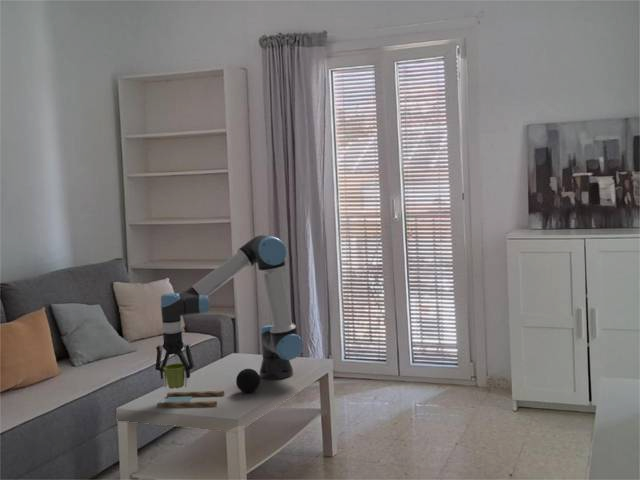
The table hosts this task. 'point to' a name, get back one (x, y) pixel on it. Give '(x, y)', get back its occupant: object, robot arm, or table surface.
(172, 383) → the plant pot
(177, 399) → the marked pad
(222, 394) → the pair of walnut rails
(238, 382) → the speaker
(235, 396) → the table surface
